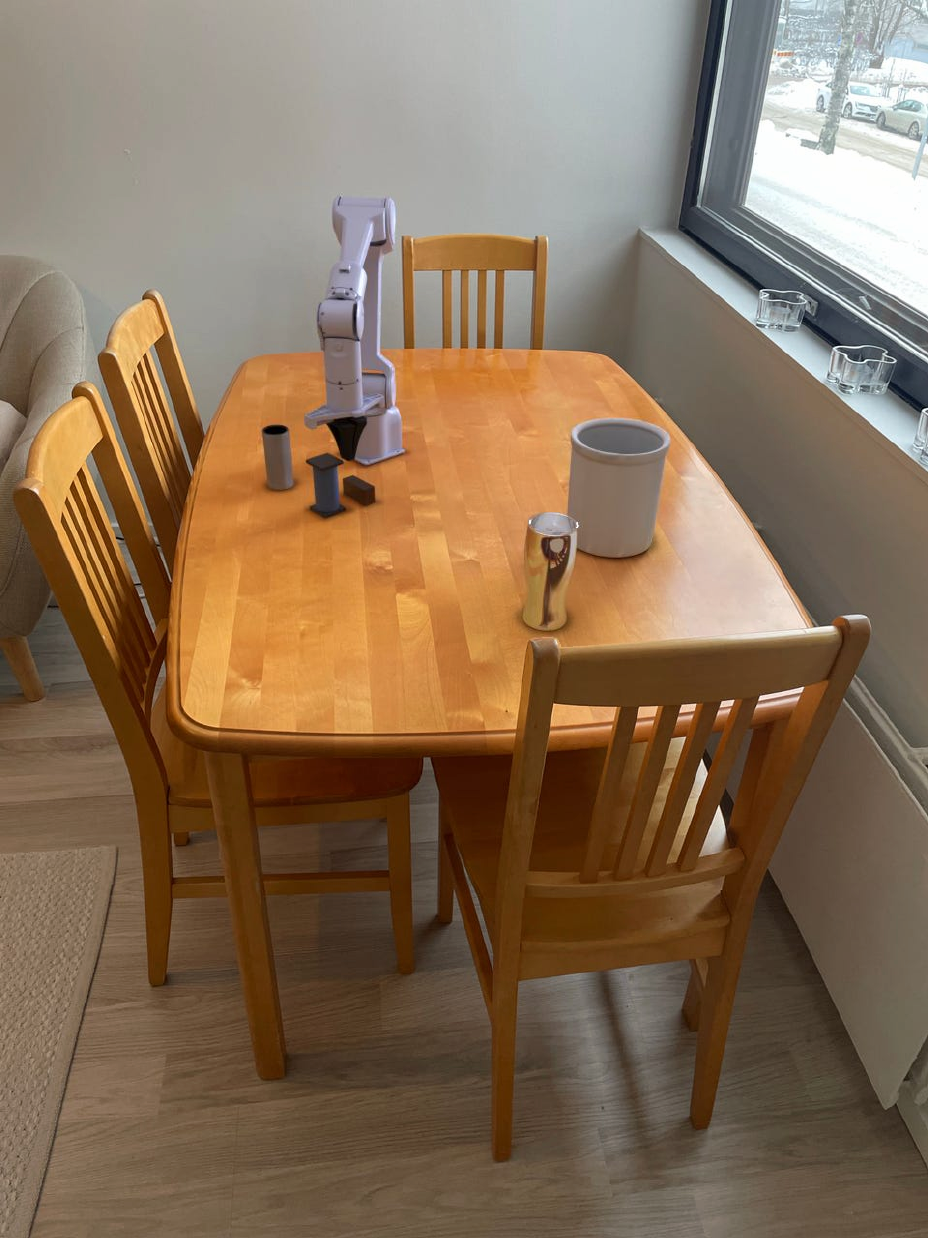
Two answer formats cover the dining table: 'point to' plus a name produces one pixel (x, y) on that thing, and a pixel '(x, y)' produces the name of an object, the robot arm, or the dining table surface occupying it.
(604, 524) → the utensil holder
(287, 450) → the grey hollow cylinder
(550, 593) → the beer glass
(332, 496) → the spool
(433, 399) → the dining table surface
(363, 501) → the block
